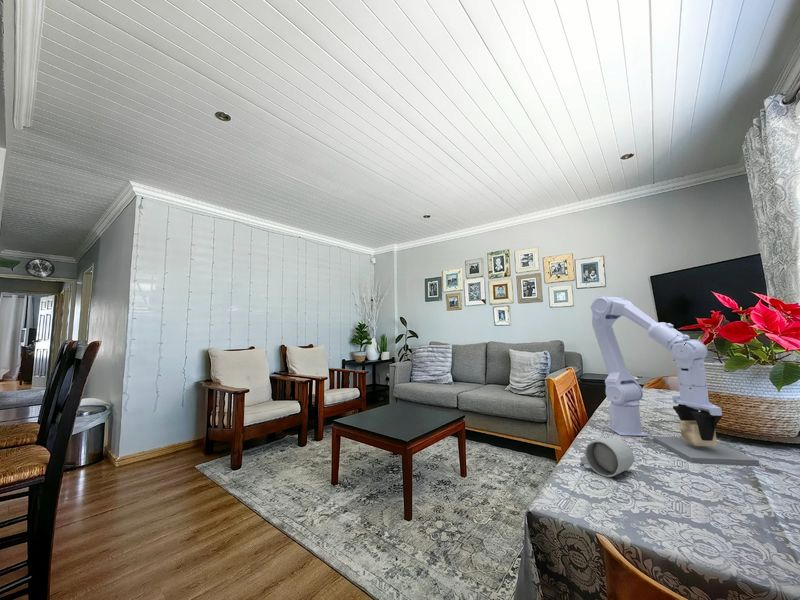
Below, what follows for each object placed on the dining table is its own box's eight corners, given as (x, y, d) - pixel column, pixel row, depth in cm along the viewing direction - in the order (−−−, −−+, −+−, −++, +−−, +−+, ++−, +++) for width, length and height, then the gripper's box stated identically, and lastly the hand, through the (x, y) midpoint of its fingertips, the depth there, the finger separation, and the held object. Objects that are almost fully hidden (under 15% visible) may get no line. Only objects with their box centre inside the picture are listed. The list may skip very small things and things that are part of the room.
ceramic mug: (638, 473, 74) (634, 438, 75) (621, 482, 69) (617, 445, 70) (591, 459, 83) (588, 428, 84) (573, 467, 78) (570, 434, 79)
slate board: (653, 441, 94) (652, 436, 94) (708, 442, 91) (707, 438, 92) (691, 462, 78) (691, 457, 78) (759, 465, 76) (758, 460, 76)
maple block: (681, 439, 88) (679, 420, 88) (702, 439, 87) (699, 420, 88) (695, 445, 83) (693, 425, 84) (717, 446, 82) (714, 425, 83)
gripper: (658, 380, 94) (664, 428, 93) (696, 389, 80) (703, 445, 79) (685, 380, 93) (691, 428, 92) (728, 389, 79) (735, 446, 78)
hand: (698, 436), depth 85 cm, fingers closed on maple block, 5 cm apart
